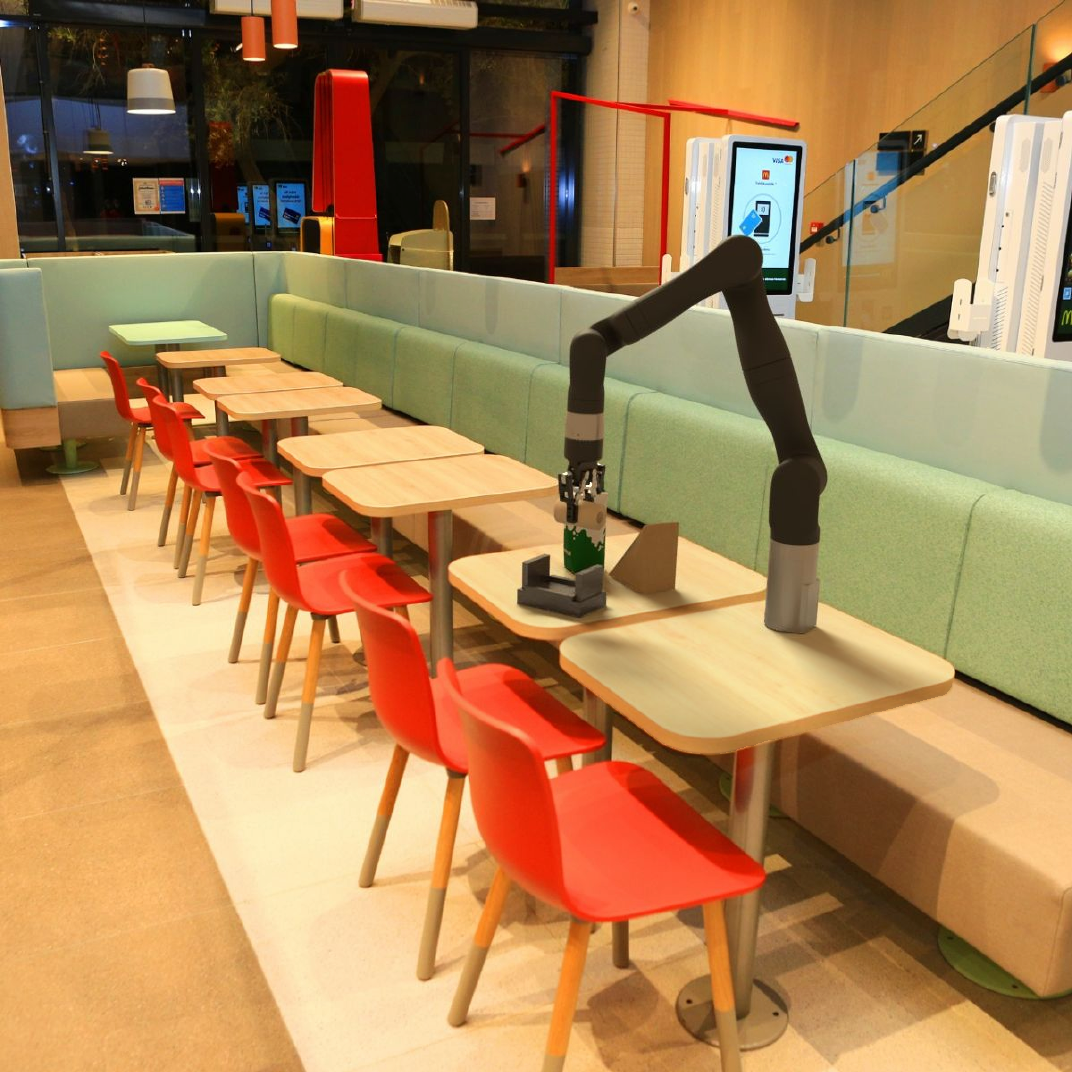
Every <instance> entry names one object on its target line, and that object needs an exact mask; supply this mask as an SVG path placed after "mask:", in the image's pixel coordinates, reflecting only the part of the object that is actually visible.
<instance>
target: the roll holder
mask: <svg viewBox="0 0 1072 1072" xmlns="http://www.w3.org/2000/svg"><path fill="white" fill-rule="evenodd" d="M550 572H551V554H548V553H543V554H540V555H537V556H535V557H533V558H530V559H527V560H524V561H522V563H521V587H519V588H517V590H516V591H517V595H516V596H517V597H516V602H517V604H519V605H524V606H528V607H532V608H536V609H540V610H545V611H548V612H552V613H557V614H561V615H564V616H570V617H574V618H578V619H580V618H582V617H584V616H587V615H588V614H591V613H592V612H593V613H594V612H595V611H597V610H599V609H602V608H604V607H605V606H607V594H608V593H607V590H603V588H604V587H603V583H604V582H603V581H604V580H603V578H604V572H603V566H602V565H598V564H597V565H595V566H592V567H590V568H588V569H585V570H583V571H581V572H578V573H576V574H575V579H574V578H571V577H570V578H569V577H566V576H561V575H557V574H551V573H550Z"/></svg>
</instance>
